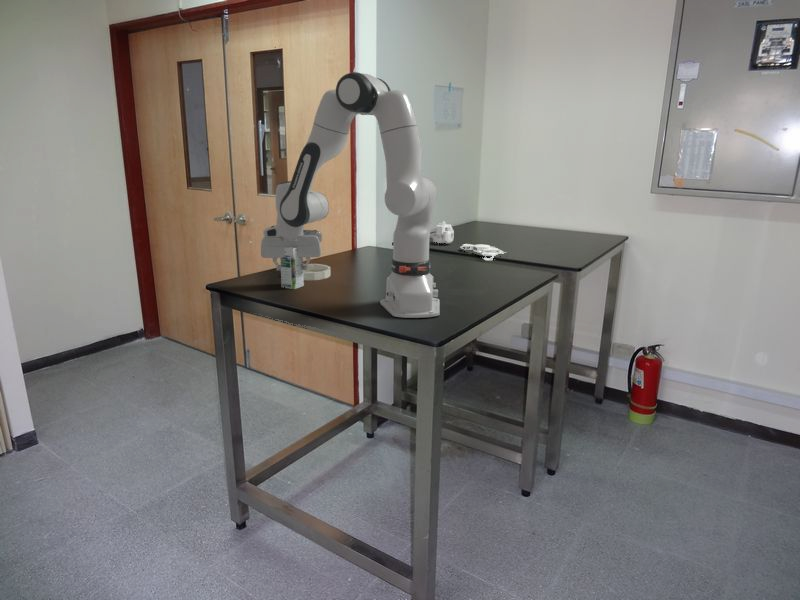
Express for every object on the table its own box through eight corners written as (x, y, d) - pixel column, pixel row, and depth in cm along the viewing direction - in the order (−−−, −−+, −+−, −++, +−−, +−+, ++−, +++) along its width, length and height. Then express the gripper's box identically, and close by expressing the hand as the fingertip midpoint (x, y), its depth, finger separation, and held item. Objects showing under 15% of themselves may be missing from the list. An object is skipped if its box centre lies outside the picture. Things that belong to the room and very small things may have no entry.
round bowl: (330, 281, 197) (330, 272, 196) (285, 281, 195) (285, 273, 194) (330, 271, 212) (330, 263, 211) (289, 272, 210) (288, 264, 209)
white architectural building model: (471, 262, 235) (471, 252, 234) (458, 251, 259) (458, 242, 258) (521, 261, 238) (522, 251, 237) (504, 250, 262) (504, 241, 261)
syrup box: (280, 288, 186) (278, 246, 182) (291, 284, 192) (289, 243, 188) (294, 290, 184) (292, 248, 180) (304, 286, 189) (303, 245, 185)
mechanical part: (435, 242, 279) (436, 219, 276) (456, 245, 273) (457, 221, 270) (424, 245, 270) (425, 221, 267) (446, 248, 264) (447, 224, 261)
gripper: (321, 228, 187) (322, 267, 190) (261, 228, 184) (263, 268, 188) (321, 231, 181) (322, 271, 184) (258, 231, 178) (261, 272, 182)
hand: (292, 270), depth 186 cm, fingers closed on syrup box, 7 cm apart
